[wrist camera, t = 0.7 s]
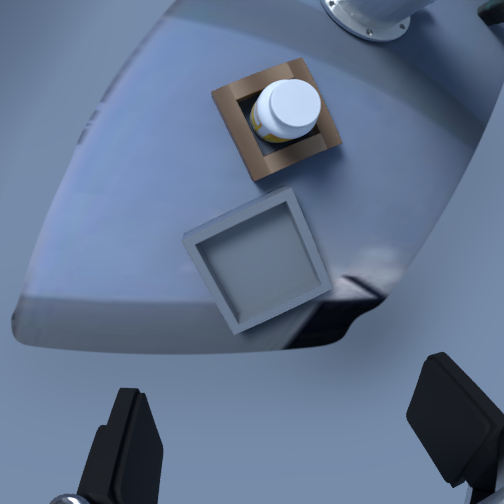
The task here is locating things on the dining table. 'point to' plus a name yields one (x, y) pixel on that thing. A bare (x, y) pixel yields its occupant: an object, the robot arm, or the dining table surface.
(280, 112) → the supplement bottle
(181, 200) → the dining table surface
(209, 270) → the tray
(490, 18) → the green animal figurine
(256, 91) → the socket block
